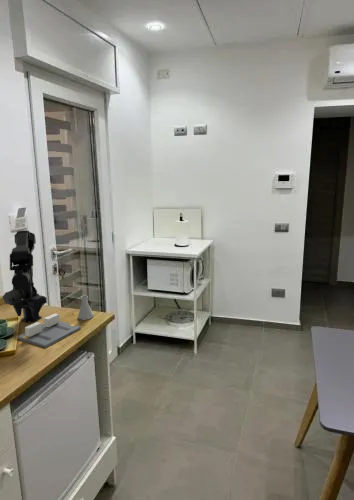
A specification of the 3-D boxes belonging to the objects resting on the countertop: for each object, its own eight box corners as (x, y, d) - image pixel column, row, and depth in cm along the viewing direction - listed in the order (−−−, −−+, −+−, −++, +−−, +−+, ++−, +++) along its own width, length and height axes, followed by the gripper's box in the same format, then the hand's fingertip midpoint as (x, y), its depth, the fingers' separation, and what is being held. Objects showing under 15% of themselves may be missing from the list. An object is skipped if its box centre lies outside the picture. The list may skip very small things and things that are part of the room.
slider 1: (25, 335, 145) (24, 327, 144) (37, 330, 150) (37, 321, 149) (29, 337, 144) (28, 328, 143) (41, 331, 149) (41, 323, 148)
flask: (89, 321, 162) (88, 299, 160) (74, 319, 164) (73, 298, 161) (96, 314, 169) (95, 294, 167) (81, 313, 170) (80, 293, 168)
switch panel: (17, 338, 145) (17, 336, 145) (53, 321, 161) (53, 319, 161) (45, 347, 138) (45, 345, 137) (80, 328, 154) (80, 326, 154)
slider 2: (44, 326, 153) (44, 318, 153) (55, 321, 159) (54, 313, 158) (48, 327, 152) (48, 319, 152) (59, 322, 157) (58, 314, 157)
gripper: (-11, 283, 141) (-6, 320, 144) (21, 290, 132) (26, 330, 135) (14, 276, 150) (18, 311, 154) (46, 282, 142) (49, 319, 145)
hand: (27, 318), depth 147 cm, fingers open, 9 cm apart
